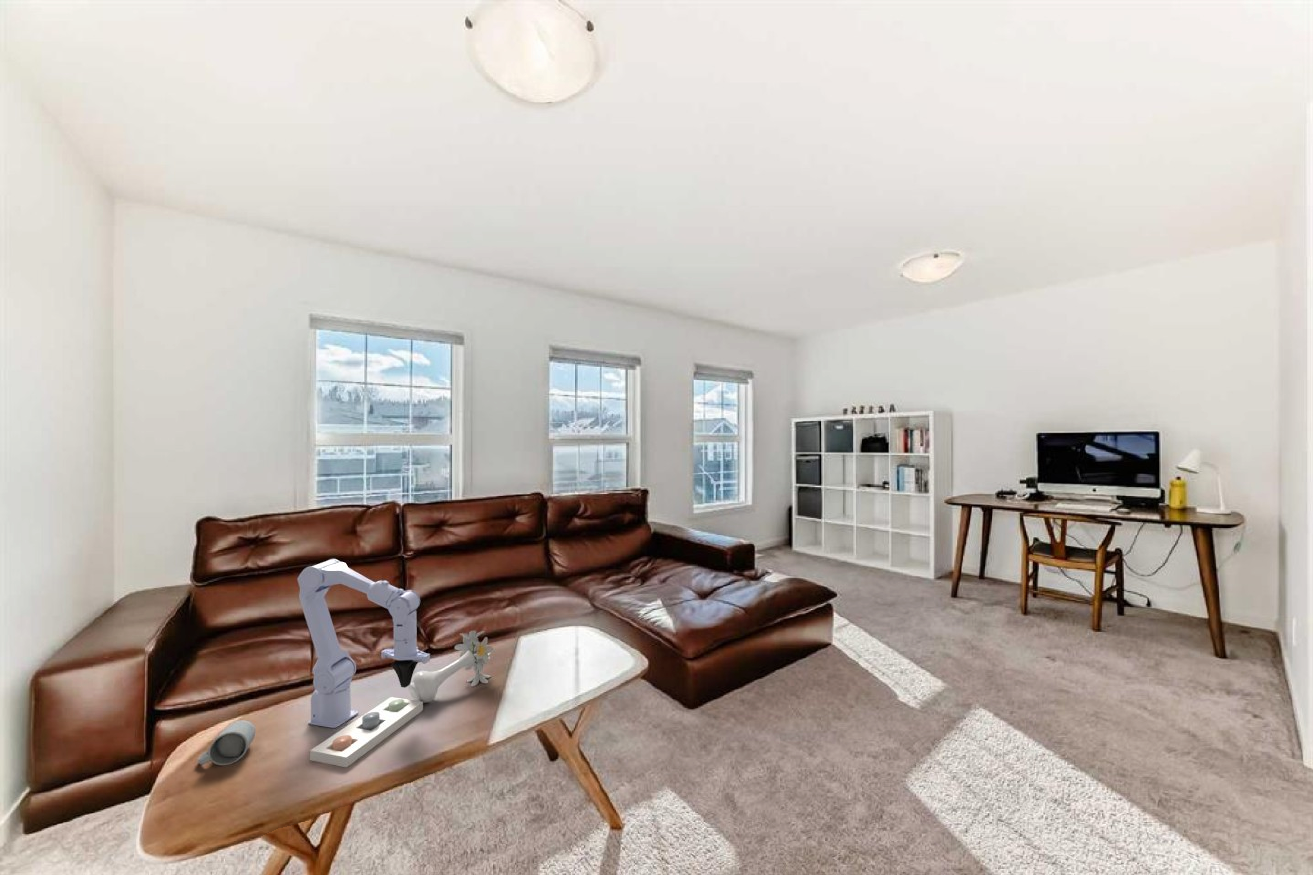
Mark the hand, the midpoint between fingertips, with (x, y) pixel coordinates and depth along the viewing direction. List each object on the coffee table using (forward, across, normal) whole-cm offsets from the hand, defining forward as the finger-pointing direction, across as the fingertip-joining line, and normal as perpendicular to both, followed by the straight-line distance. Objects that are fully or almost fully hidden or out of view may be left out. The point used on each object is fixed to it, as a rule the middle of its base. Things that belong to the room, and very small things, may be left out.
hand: (405, 685), depth 141 cm
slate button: (+8, +5, +7) cm, 12 cm away
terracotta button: (+10, +5, +16) cm, 19 cm away
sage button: (+10, +5, -2) cm, 11 cm away
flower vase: (+10, -2, -18) cm, 21 cm away
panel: (+10, +5, +7) cm, 13 cm away
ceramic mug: (+10, +32, +24) cm, 41 cm away
